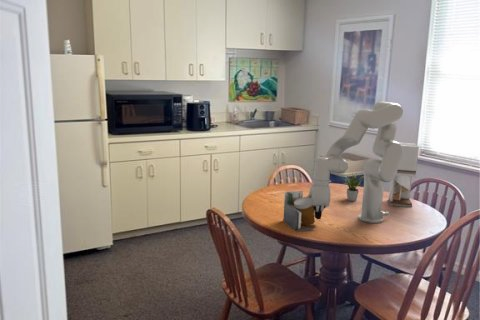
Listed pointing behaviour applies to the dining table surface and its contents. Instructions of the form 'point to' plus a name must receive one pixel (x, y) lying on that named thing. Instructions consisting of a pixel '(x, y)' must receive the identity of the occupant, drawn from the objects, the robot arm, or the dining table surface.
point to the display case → (404, 176)
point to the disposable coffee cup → (305, 210)
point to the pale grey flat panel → (297, 213)
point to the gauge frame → (292, 211)
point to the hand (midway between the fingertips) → (317, 218)
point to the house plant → (352, 188)
